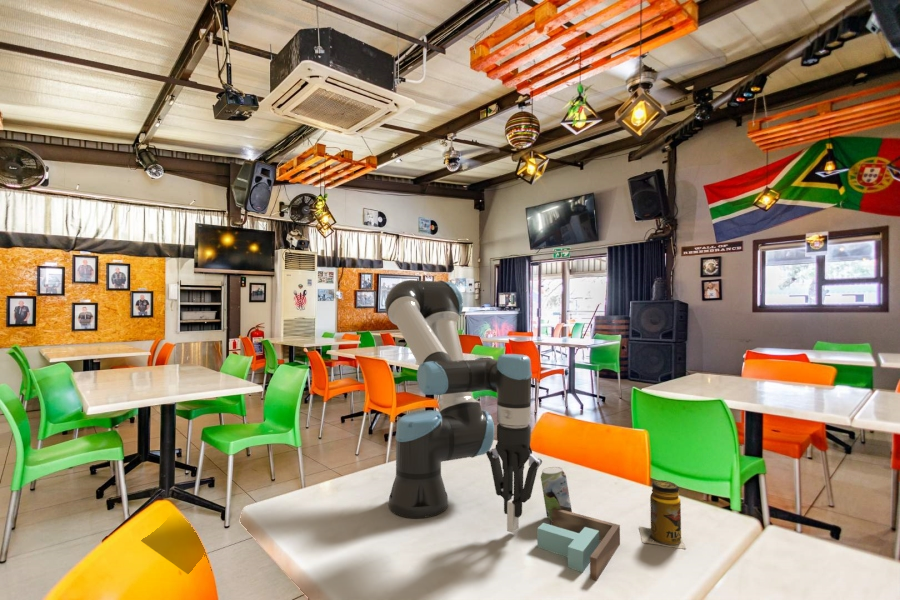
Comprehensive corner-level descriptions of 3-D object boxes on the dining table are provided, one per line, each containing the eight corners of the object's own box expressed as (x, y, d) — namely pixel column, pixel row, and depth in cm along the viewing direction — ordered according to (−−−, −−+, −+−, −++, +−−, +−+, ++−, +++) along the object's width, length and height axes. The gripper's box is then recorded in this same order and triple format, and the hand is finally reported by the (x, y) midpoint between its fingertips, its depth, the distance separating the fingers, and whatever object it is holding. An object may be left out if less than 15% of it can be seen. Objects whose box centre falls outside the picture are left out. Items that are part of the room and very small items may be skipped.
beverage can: (573, 527, 104) (572, 474, 104) (541, 524, 105) (540, 472, 106) (571, 515, 110) (571, 465, 110) (540, 512, 111) (540, 463, 112)
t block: (530, 554, 92) (530, 534, 92) (549, 534, 100) (549, 516, 100) (583, 572, 86) (582, 551, 86) (599, 550, 94) (599, 530, 94)
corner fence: (523, 555, 91) (522, 535, 92) (553, 524, 105) (553, 507, 105) (596, 580, 83) (596, 558, 83) (619, 544, 96) (619, 525, 96)
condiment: (686, 549, 94) (685, 491, 94) (642, 543, 96) (641, 487, 97) (679, 533, 101) (678, 479, 101) (638, 527, 103) (638, 475, 104)
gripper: (480, 422, 101) (479, 527, 101) (533, 432, 93) (532, 546, 93) (496, 416, 107) (495, 515, 107) (547, 424, 100) (546, 531, 99)
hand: (512, 529), depth 100 cm, fingers closed
